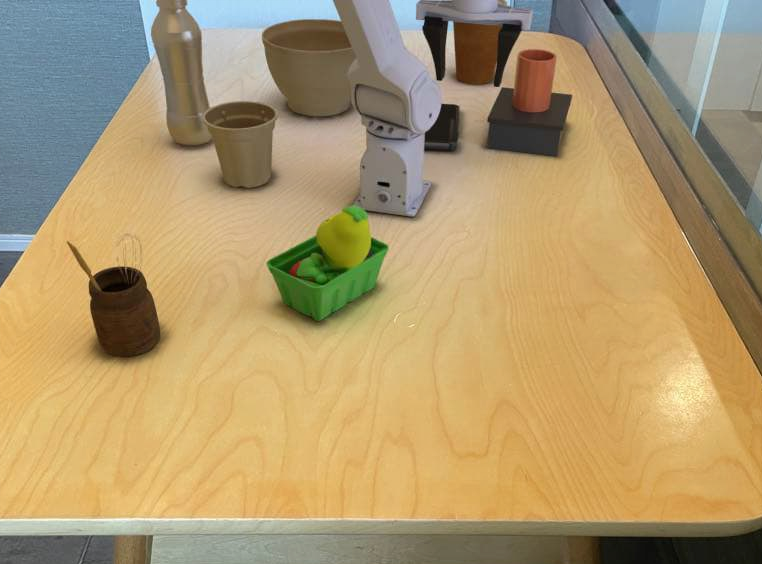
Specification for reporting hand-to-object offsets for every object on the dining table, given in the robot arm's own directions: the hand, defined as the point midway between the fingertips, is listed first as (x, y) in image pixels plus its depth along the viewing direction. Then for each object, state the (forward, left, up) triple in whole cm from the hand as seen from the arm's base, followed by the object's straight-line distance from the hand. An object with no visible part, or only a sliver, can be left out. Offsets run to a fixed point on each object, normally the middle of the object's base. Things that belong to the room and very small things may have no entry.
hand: (468, 81), depth 108 cm
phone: (+8, +6, -10) cm, 14 cm away
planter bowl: (+12, +25, -11) cm, 30 cm away
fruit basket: (-39, +6, -10) cm, 41 cm away
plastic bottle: (-6, +38, -10) cm, 40 cm away
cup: (+10, -8, -6) cm, 14 cm away
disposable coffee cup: (+32, +4, -10) cm, 34 cm away
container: (+10, -8, -10) cm, 16 cm away
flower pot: (-15, +26, -10) cm, 32 cm away
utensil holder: (-52, +23, -10) cm, 58 cm away
